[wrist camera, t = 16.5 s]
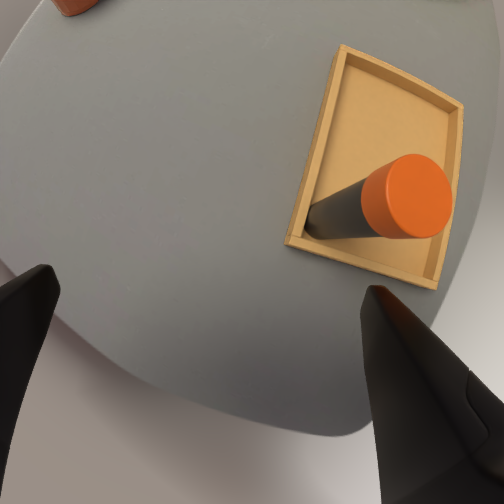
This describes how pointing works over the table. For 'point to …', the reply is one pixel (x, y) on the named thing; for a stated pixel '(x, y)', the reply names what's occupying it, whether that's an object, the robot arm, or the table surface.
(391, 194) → the cylinder
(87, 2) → the pen cup
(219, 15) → the table surface
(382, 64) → the tray
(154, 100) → the table surface
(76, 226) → the table surface
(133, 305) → the table surface
